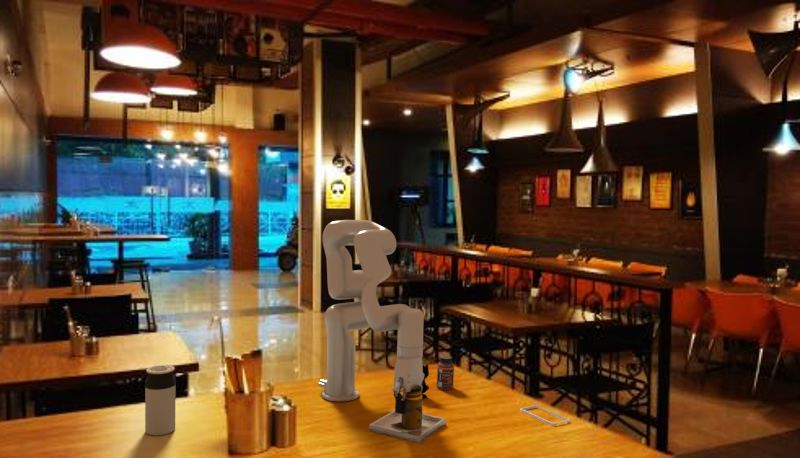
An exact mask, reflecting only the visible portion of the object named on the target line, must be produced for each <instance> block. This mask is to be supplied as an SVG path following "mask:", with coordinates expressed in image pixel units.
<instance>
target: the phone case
mask: <svg viewBox="0 0 800 458" xmlns="http://www.w3.org/2000/svg"><path fill="white" fill-rule="evenodd" d="M532 409H539V410H541V409H542V410H544V411H546V412H548V414H550V415H552V416H553V417H556V418H559V419H561V421H557V422H553V421H552V422H551V421H549V420H547V419H546V418H543V417H540V416H539V415H536V414H534V413H532V412H531V411H528V410H532ZM519 410H520V412H521V413H523V414H525V415H528V416H530V417H532V418H534V419H537V420H539V421H541V422H543V423H545V424H546V425H549V426H551V427H556V426H557V425H558V424H562V423H567V424H568V423H569V424H570V421H571V420H570V418H568V417H565V416H563V415H561V414H558V413H556V412H554V411H551V410H549V409H547V408H544V407H543V406H540V405H537V404H534V405H529V406H525V407H520V409H519Z"/></svg>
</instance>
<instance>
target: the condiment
mask: <svg viewBox="0 0 800 458" xmlns="http://www.w3.org/2000/svg"><path fill="white" fill-rule="evenodd" d="M404 390H405V389H404ZM405 400H406V413H405V414H402V421H401V422H399V423H396V424H390V425H391V426H393V427H394V428H396V429H398V430H399V431H403V432H411V431H416V430H420V429H424V428H427V427H426V426H424V425H422V413H423V400H424V399H422V395H421V386H419V385H418V386H417V387H415V388H413V389H412V390H411V391H410V392H408V393H407V394H406V397H405Z"/></svg>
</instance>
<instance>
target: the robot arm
mask: <svg viewBox="0 0 800 458" xmlns="http://www.w3.org/2000/svg"><path fill="white" fill-rule="evenodd" d="M322 246H323V249H324V250H323V251H324V254H325V257H326V274H327V276H326V277H327V278H326V279H327V289H328V290H327V291H328V294H329V296H330V298H332V299H334V300H349V299H354V301H353V302H342V303H336V304H332V305H331V306H329V307H328V308H327V309H326V311H325V313H324V323H325V330H326V346H327V347H326V348H327V349H326V350H327V351H326V354H327V355H326V360H327V361H326V379H323V378H321V379H320V380H319V382H318V383H317V386H318V387H321V388H323V391H321V397H322V398H323V399H324V400H326V401H330V402H340V403H341V402H351V401H354V400H356V399H357V398H359V397H360V391H359V390H357V389H356V388H355V385H356V383H355V382H356V377H355V376H356V374H355V373H356V342H355V339H354V338H353V336H352V334H351V332H352V331H358V330H364V329H368V328H370V329H371V330H372V331H375V332H378V333H382V332H389V331H396V330H397V342H396V343H397V345H396V346H397V347H396V348H397V349H396V356H397V357H396V360H395V364H394V365H395V366H394V374H393V386H392V391H393V396H394V400H395V404H394V405H395V406H394V408H395V409H394V410H395V412H396V413H400V414H405V413H406V400H405V397H406V394H407V393H408V392H410V391H411V390H412V389H413V388H415V387H417V386H418V385H419V386H421V395H422V394H423V393H422V389H423V387H422V385H423V380H424V375H425V374H424V373H423V357H424V356H423V355H424V354H423V353H424V350H423V349H424V320H425V319H424V312H423V311H422V310H421V309H419V308H412V307H410V306H408V305H407V304H403V303H397V304H396V303H395V304H389V305H388V304H387V305H380V303H379V300H378V297H377V288H378V285H379V284H380V283H382V282H384V281H386V280H387V279H389V278H390V276H391V275H392V267H391V266H390V263H389V261H388V257H387V256H388V255H392V254H393V253H394V252H396V248H397V240H396V237H395V235H394V234H393V232H392V231H391V230H390V229H388V228H387V227H384V226H382V225H380V224H378V223H377V222H374V221H371V220H367V219H343V220H342V219H341V220H334V221H331V222H329V223H328V224H326V226H325V228H324V229H323V232H322ZM346 246H353V247H354V250H355V253H356V256H357V258H358V262H359V264H360V266H361V269H357V270H353V259H352V256H351V254H350V252H349V250H348V249H347V248H346ZM404 389H405V390H404ZM401 393H402V394H401Z"/></svg>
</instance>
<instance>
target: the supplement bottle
mask: <svg viewBox="0 0 800 458" xmlns="http://www.w3.org/2000/svg"><path fill="white" fill-rule="evenodd" d="M452 360H453V357H452V356H449V355H440V361H438V363H437V370H436V371H437V373H436V387H437V389H438V390H442V391H450V390H452V389H453V388H454V377H455V376H454V375H455V365H454V363H453V362H452Z"/></svg>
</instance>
